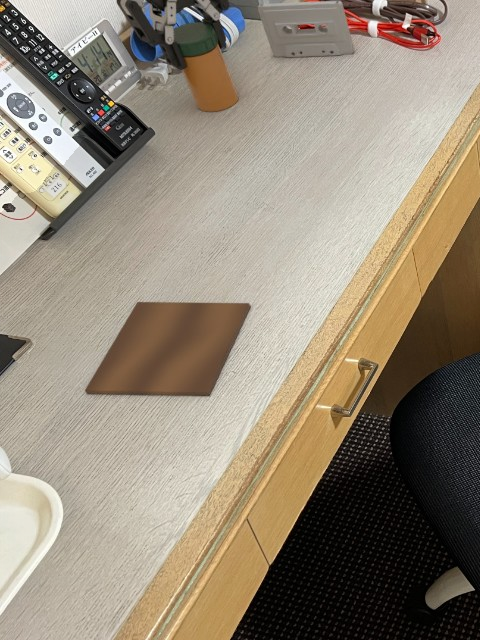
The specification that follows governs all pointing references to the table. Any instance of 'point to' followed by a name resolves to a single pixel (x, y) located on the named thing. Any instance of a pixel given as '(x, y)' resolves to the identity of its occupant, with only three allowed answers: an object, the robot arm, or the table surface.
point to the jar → (210, 81)
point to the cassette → (306, 40)
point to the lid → (195, 38)
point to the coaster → (170, 349)
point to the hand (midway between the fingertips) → (200, 56)
